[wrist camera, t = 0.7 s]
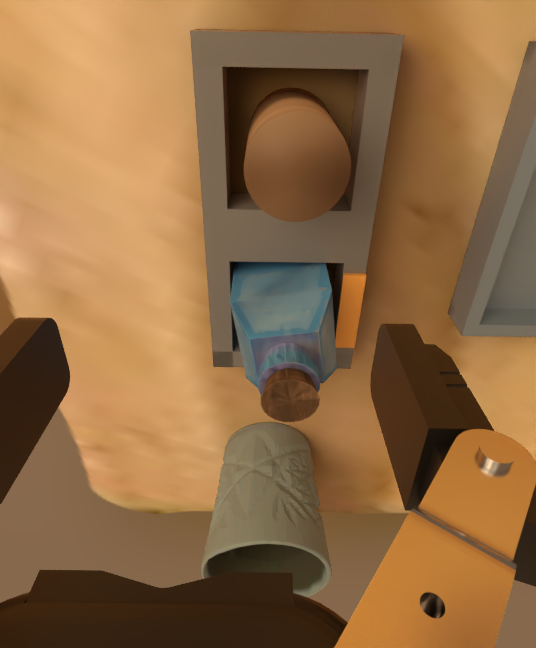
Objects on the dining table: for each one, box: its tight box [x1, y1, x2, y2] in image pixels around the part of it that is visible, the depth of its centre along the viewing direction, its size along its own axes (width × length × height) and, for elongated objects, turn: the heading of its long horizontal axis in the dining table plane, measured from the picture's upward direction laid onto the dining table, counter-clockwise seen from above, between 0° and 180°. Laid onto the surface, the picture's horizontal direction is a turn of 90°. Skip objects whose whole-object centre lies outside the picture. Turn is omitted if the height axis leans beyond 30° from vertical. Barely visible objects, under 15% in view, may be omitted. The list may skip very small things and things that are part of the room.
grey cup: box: [201, 422, 332, 597], centre depth 39 cm, size 10×10×12 cm
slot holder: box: [190, 29, 404, 368], centre depth 29 cm, size 22×10×3 cm, turn 179°
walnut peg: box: [244, 88, 351, 222], centre depth 24 cm, size 5×5×8 cm
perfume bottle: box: [230, 261, 337, 422], centre depth 29 cm, size 6×6×12 cm
